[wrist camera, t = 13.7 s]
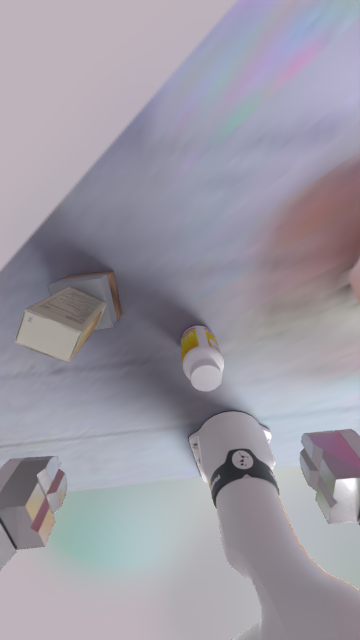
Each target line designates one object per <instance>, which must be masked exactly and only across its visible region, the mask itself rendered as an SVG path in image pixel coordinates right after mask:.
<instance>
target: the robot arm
mask: <svg viewBox="0 0 360 640" xmlns="http://www.w3.org/2000/svg"><path fill="white" fill-rule="evenodd" d="M271 436H272V434H271V431H270V430H269V429H268V428H266V427H264V426H261V425H260V424H259V423H258V422H257V421H256V420H255V419H254V418H253V417H252V416H250V415H248V414H245V413H242V412H235V411H231V412H224V413H220V414H217V415H215V416H213V417H211V418H210V419H208V420H207V421H206V422H205V423H204V424H203V426H202V427H201V428H200V429H199V430H198V431H197V432H195V433H194V434H192V435H191V436H190V437H189V443H190V446H191V449H192V451H193V454H194V457H195V460H196V462H197V465H198V468H199V471H200V474H201V476H202V479H203V481H204V482H206V483H208V484H209V486H210V489H211V494H212V499H213V502H214V505H215V507H216V509H217V513H218V520H219V526H220V533H221V539H222V545H223V551H224V554H225V557H226V559H227V561H228V562H229V564H230V565H231V566H232V568H233V569H234V570H236V571H237V572H238V573H239V574H240V575H242V576H244V577H245V578H247V579H250V580H252V582H253V584H254V587H255V589H256V592H257V595H258V598H259V601H260V606H261V619H260V620H258V621H257V622H255V623H254V624H253V625H251V626H250V627H248V628H247V629H245V630H244V631H243V632H241V633H240V634H238V635H237V636H236V637H234V638H233V639H232V640H360V590H359V589H358V588H356V587H354V586H353V585H351V584H349V583H348V582H346V581H344V580H341V579H339V578H336V577H334V576H332V575H331V574H329V573H327V572H326V571H324V570H323V569H322V568H321V567H320V566H319V565H318V564H317V563H316V562H315V561H314V560H313V559H312V558H311V557H310V556H309V555H308V553H307V552H306V551H305V549H304V548H303V546H302V545H301V543H300V542H299V540H298V538H297V536H296V535H295V532H294V530H293V528H292V526H291V524H290V521H289V519H288V517H287V514H286V512H285V510H284V507H283V505H282V503H281V500H280V498H279V489H278V486H277V481H276V479H275V476H274V475H273V473H272V470H273V468H274V465H275V459H274V456H273V454H272V451H271V448H270V445H269V442H270V439H271ZM301 443H302V445H303V446H304V449H303V450H302V451H301V452H300V464H301V469H302V472H303V475H304V477H305V479H306V481H307V484H308V485H309V486H310V487H312V488H313V489H314V490H316V491H317V493H316V501H317V503H318V505H319V507H320V509H321V511H322V512H323V515H324V517H325V519H326V520H327V522H328V524H330V523H350V522H359V525H360V436H359V435H358V434H357V433H356V432H355V431H354V430H352V429H346V430H335V431H324V432H314V433H304V434H303V436H302V440H301ZM60 465H61V462H60V460H59V457H58V456H46V457H29V458H17V459H10V460H9V461H7V462H6V463H5V464H4V465H3V467H2V468H1V469H0V570H1V569H2V568H3V567H4V566H5V565H6V563H7V562H8V561H9V560H10V559H11V558H12V556H13V555H14V554H15V553H16V550H19V549H28V548H37V547H45V545H46V543H47V541H48V538H49V536H50V533H51V531H52V528H53V526H54V523H55V517H54V513H55V512H56V511H57V510H58V509H59V508H60V507H61V506H62V504H63V501H64V498H65V496H66V490H67V478H66V475H65V473H64V472H63V471H61V470H60V469H59V467H60Z"/></svg>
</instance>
